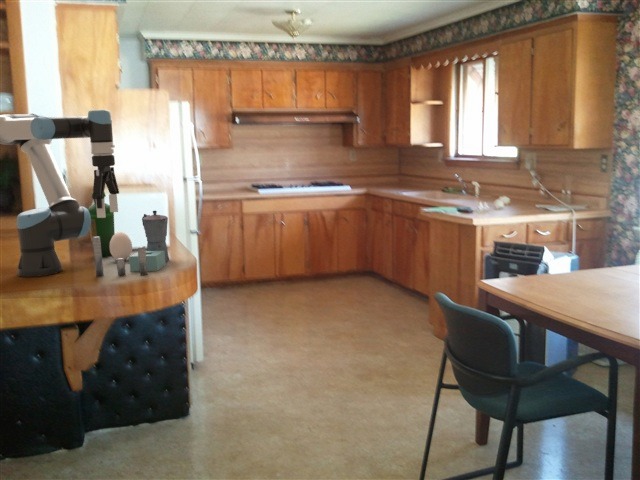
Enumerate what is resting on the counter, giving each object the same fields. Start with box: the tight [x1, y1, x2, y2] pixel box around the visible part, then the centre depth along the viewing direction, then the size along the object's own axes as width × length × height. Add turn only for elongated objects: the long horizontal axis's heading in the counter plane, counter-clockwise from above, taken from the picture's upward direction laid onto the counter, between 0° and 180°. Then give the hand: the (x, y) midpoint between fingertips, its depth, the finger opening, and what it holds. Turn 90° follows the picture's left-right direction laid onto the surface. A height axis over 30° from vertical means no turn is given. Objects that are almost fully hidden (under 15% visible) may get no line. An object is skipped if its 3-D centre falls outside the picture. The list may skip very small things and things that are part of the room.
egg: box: [109, 231, 133, 261], centre depth 256 cm, size 9×9×11 cm
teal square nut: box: [128, 250, 166, 272], centre depth 239 cm, size 10×10×6 cm
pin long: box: [92, 236, 104, 278], centre depth 229 cm, size 3×3×14 cm
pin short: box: [115, 258, 126, 277], centre depth 229 cm, size 3×3×6 cm
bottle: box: [87, 191, 116, 258], centre depth 267 cm, size 11×11×28 cm
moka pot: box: [141, 210, 170, 263], centre depth 251 cm, size 10×15×20 cm, turn 53°
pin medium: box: [137, 245, 148, 276], centre depth 228 cm, size 3×3×10 cm
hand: (108, 214), depth 230 cm, fingers open, 13 cm apart
